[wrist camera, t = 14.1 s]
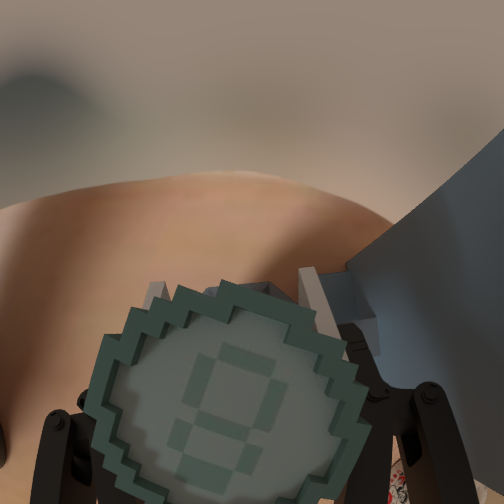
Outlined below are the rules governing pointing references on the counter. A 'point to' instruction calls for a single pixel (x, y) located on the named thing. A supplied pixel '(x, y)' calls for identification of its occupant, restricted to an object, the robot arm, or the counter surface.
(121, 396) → the can
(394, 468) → the teacup with lid
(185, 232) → the counter surface
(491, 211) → the cup bracket
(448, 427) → the robot arm
